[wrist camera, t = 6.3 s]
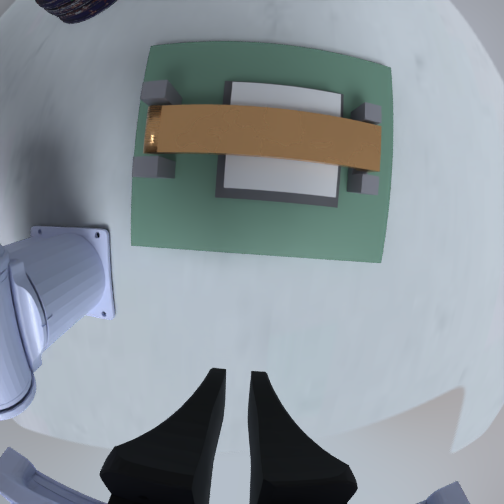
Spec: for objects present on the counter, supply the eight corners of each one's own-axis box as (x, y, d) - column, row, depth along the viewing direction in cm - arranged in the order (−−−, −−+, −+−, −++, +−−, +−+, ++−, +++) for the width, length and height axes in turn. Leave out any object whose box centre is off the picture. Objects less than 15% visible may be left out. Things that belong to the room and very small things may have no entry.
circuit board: (137, 242, 21) (107, 257, 16) (155, 51, 17) (133, 24, 12) (374, 259, 21) (404, 278, 16) (384, 72, 17) (413, 50, 13)
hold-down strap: (150, 155, 17) (139, 152, 15) (154, 112, 16) (145, 105, 14) (369, 172, 17) (381, 171, 15) (371, 130, 16) (382, 125, 15)
